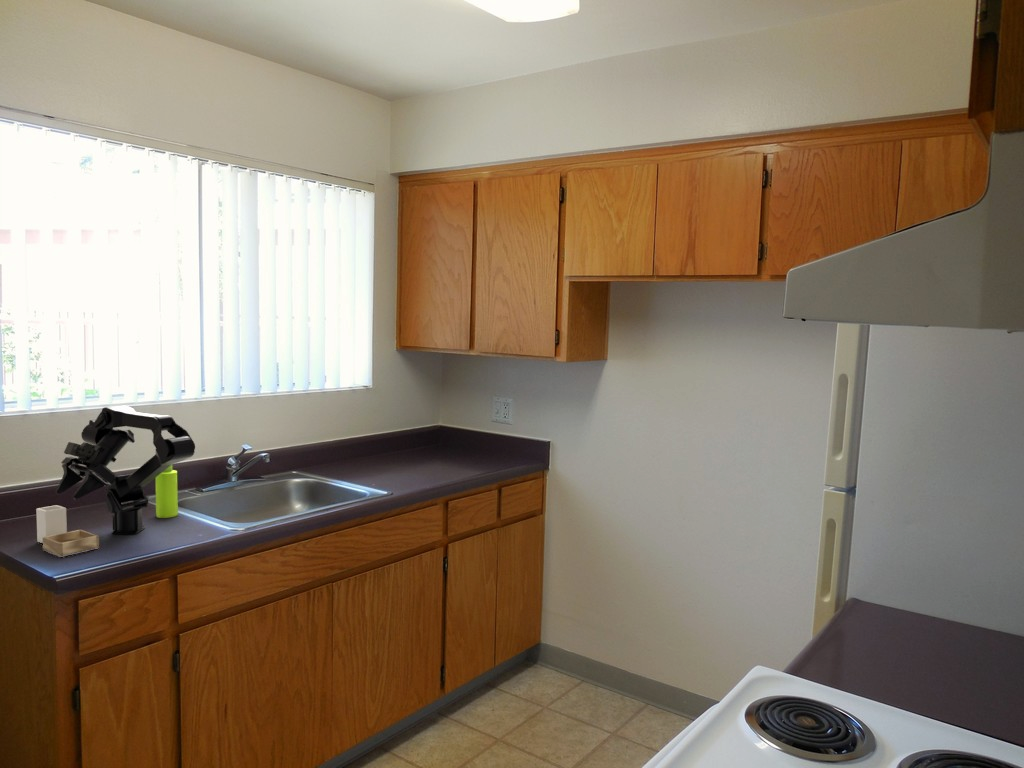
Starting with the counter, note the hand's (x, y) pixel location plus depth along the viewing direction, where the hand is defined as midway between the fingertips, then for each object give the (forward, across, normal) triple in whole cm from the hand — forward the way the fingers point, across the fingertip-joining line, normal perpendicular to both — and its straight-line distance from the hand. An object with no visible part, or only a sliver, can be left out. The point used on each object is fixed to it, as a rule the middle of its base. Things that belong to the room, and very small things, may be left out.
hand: (65, 496), depth 198 cm
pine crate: (+11, +11, +6) cm, 16 cm away
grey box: (+11, 0, +6) cm, 12 cm away
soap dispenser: (-13, -4, +30) cm, 32 cm away
